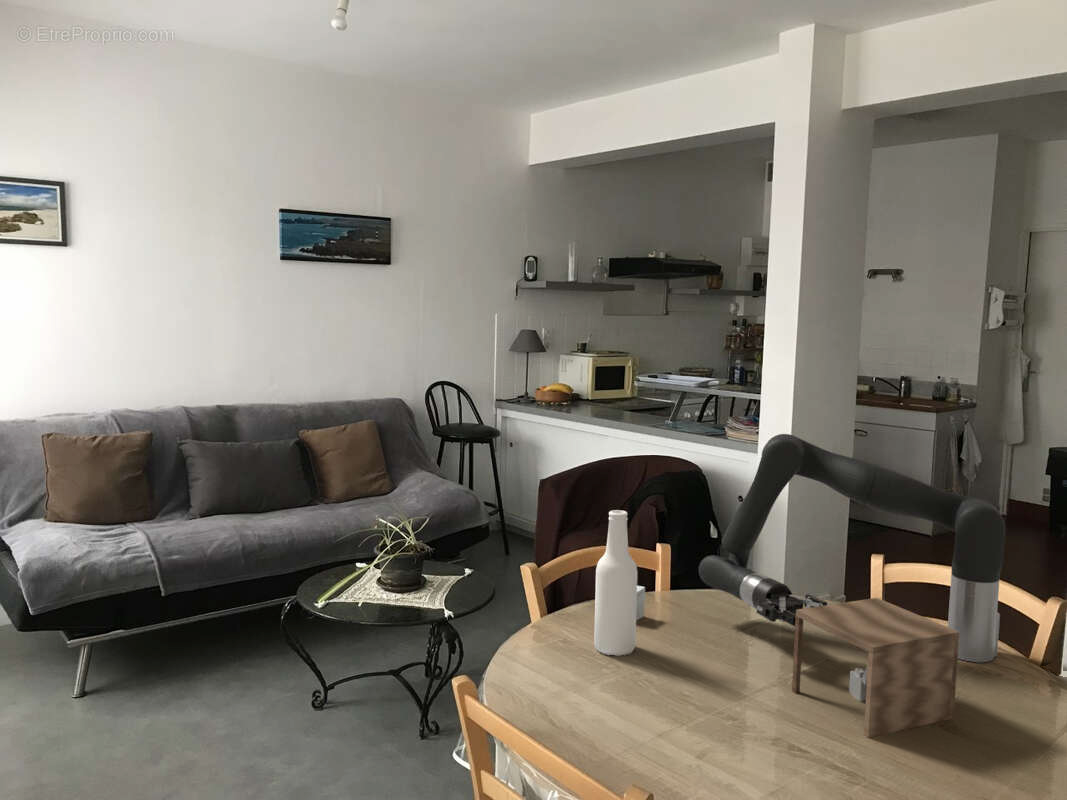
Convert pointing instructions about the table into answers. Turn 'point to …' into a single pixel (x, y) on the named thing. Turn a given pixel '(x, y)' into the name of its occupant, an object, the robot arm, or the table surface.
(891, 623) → the open side box
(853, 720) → the table surface
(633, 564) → the alcohol
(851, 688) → the lighter
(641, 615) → the product box
